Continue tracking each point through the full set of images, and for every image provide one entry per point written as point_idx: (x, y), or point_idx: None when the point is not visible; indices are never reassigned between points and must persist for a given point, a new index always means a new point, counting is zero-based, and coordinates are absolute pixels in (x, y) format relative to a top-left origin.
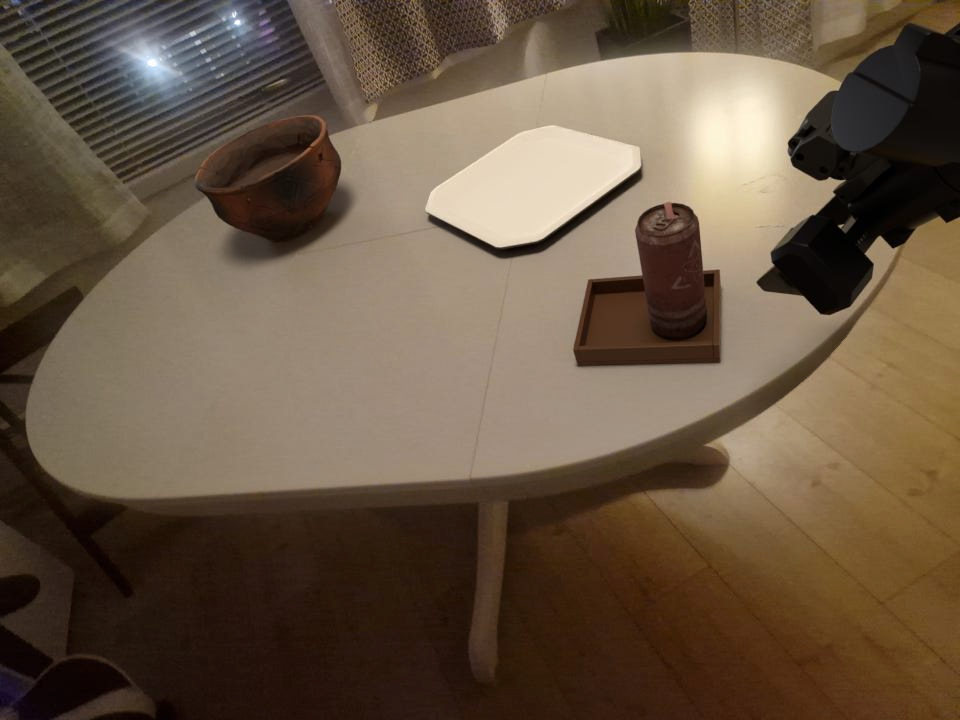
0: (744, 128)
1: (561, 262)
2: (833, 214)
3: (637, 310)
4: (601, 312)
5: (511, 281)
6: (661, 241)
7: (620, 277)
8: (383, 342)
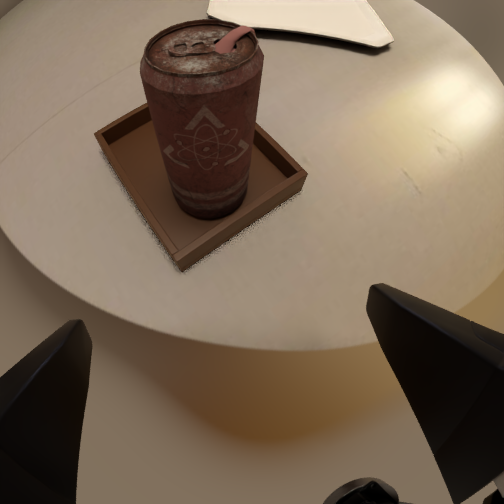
0: (470, 104)
1: None
2: (403, 343)
3: None
4: None
5: None
6: (146, 72)
7: None
8: (80, 39)
